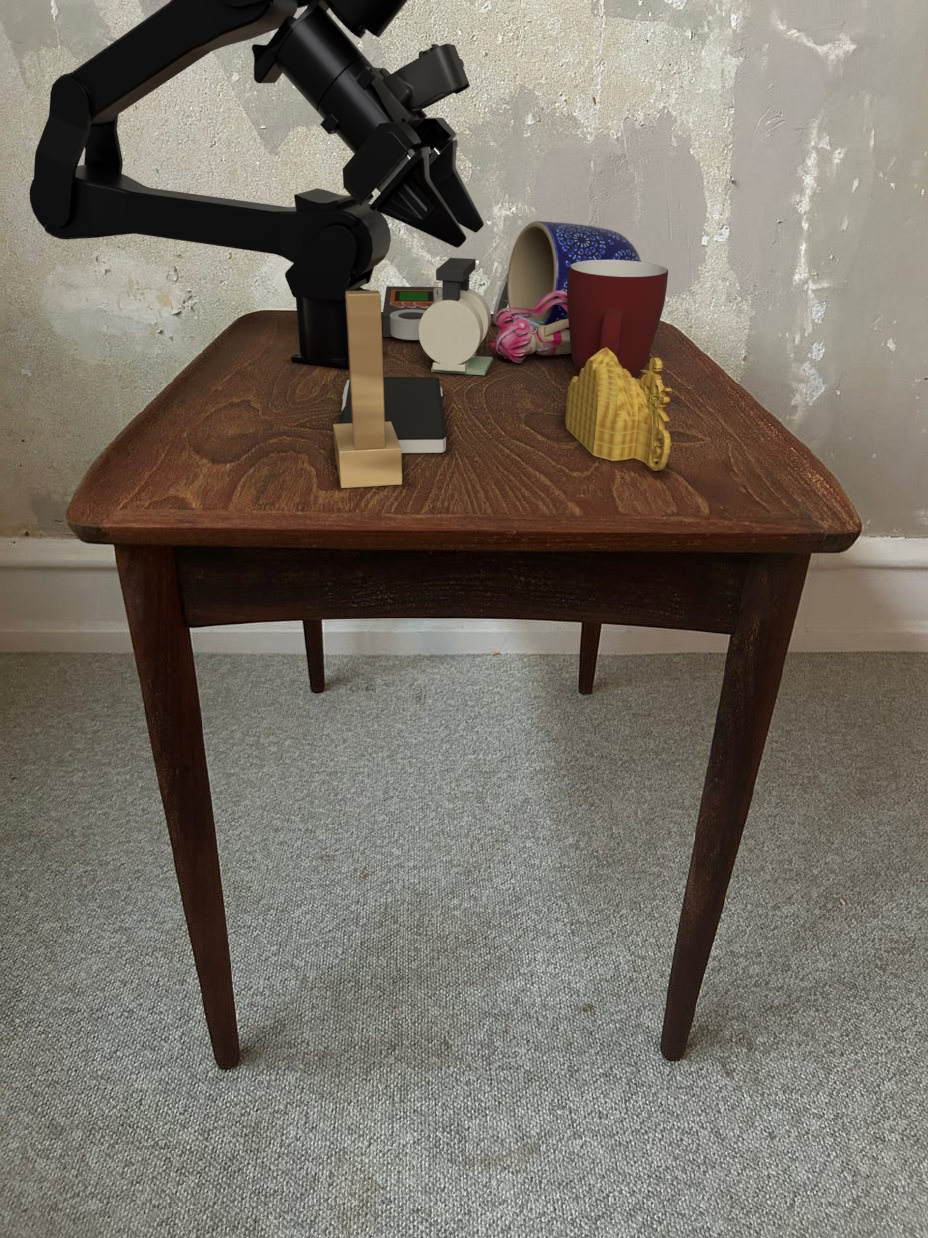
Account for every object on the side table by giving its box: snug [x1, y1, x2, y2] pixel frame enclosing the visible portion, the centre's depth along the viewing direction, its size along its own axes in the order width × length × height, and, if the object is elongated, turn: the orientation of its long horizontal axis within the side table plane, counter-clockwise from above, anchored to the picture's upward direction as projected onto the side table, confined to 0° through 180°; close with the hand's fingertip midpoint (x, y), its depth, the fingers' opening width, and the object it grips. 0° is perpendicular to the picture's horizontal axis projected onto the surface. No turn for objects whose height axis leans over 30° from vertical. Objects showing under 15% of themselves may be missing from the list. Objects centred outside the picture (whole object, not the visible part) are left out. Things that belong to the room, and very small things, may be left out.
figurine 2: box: [564, 347, 673, 472], centre depth 62 cm, size 4×12×7 cm, turn 14°
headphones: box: [418, 257, 492, 372], centre depth 79 cm, size 6×6×9 cm
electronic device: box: [381, 285, 442, 341], centre depth 95 cm, size 7×3×15 cm
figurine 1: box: [492, 272, 510, 326], centre depth 94 cm, size 6×6×8 cm
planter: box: [507, 220, 642, 330], centre depth 89 cm, size 11×11×11 cm
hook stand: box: [332, 289, 403, 489], centre depth 56 cm, size 6×4×12 cm, turn 11°
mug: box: [567, 260, 669, 379], centre depth 73 cm, size 10×8×10 cm
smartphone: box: [338, 376, 447, 454], centre depth 68 cm, size 8×1×15 cm
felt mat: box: [430, 355, 494, 376], centre depth 82 cm, size 5×5×1 cm
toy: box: [486, 290, 571, 364], centre depth 83 cm, size 7×6×15 cm
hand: (471, 235), depth 76 cm, fingers open, 9 cm apart
